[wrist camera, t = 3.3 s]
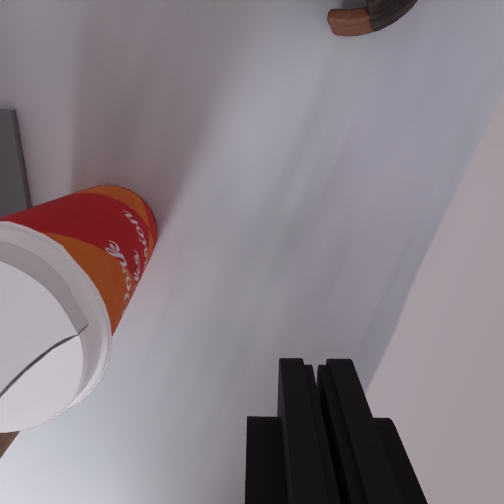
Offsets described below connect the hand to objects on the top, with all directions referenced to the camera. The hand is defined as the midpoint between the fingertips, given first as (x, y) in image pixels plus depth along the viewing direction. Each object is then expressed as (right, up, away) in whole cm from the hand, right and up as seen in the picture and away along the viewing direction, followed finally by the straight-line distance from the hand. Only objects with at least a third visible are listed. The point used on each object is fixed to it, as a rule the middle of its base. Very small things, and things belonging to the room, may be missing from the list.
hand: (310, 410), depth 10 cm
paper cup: (-10, +5, +17) cm, 20 cm away
